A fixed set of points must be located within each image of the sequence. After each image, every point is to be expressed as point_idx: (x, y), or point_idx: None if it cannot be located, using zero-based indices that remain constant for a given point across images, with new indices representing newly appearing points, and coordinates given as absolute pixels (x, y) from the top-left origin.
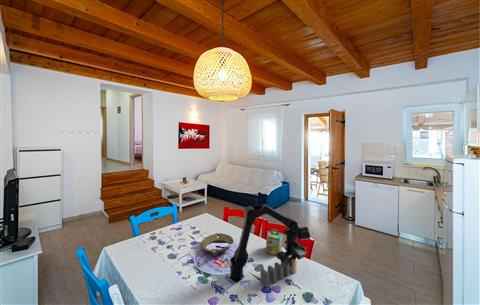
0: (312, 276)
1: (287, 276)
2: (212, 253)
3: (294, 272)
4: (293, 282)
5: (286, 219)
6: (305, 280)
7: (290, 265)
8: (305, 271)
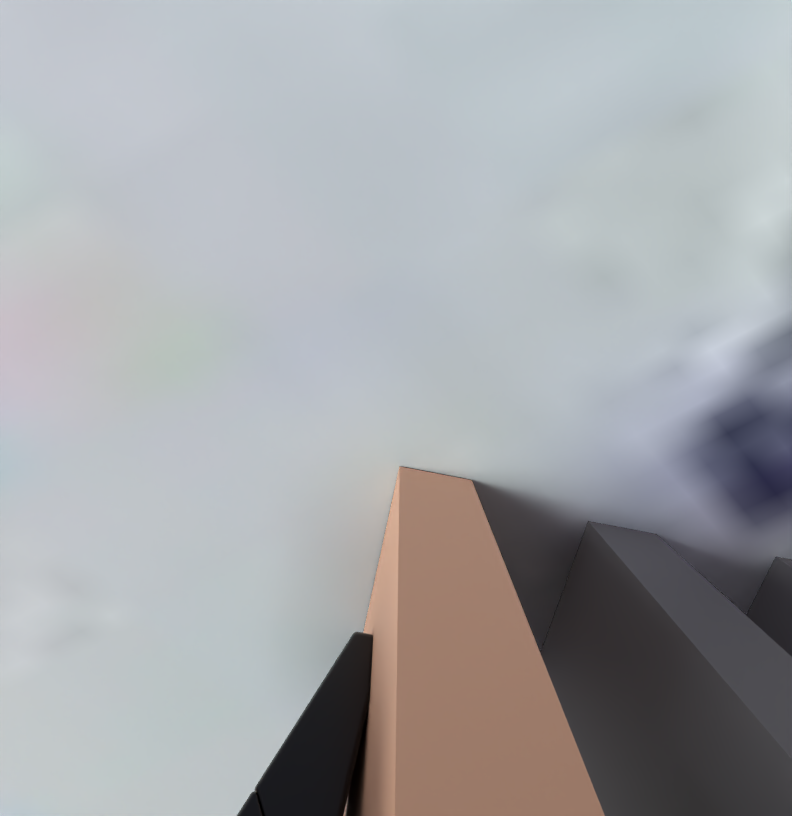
0: (236, 73)
1: (651, 533)
2: None
3: (465, 488)
4: (771, 340)
5: None
6: (522, 144)
7: None
8: (200, 326)
